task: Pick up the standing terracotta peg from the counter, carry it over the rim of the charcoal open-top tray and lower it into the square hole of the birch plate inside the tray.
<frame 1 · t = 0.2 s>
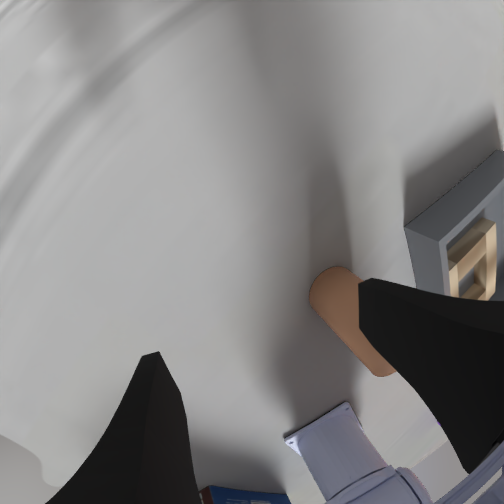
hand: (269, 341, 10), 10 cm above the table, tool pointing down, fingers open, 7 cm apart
protein box: (229, 503, 32), on the table
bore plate: (455, 276, 27), resting on tray
tray: (469, 254, 27), on the table
peg: (332, 291, 22), on the table
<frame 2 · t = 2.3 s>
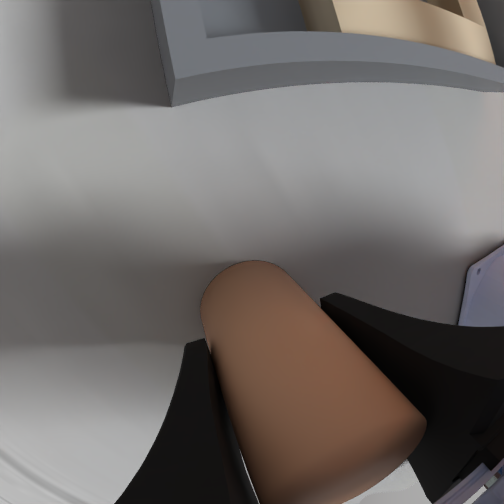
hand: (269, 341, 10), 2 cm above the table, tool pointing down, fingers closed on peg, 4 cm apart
peg: (250, 307, 12), on the table, touching gripper
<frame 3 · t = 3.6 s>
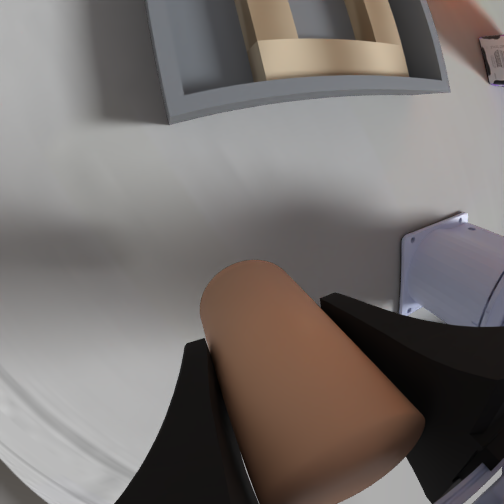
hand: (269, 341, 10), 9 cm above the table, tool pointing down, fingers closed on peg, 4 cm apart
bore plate: (308, 16, 15), resting on tray
peg: (249, 306, 12), point 7 cm above the table, touching gripper
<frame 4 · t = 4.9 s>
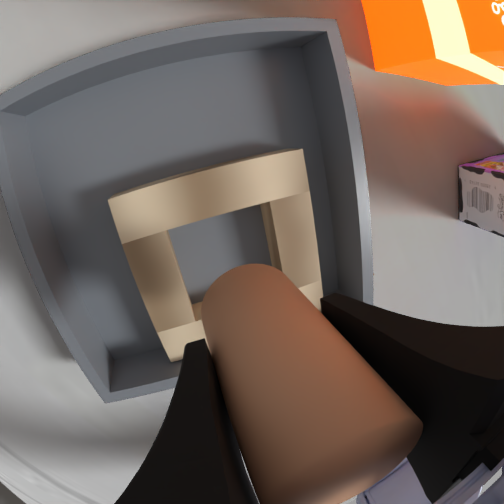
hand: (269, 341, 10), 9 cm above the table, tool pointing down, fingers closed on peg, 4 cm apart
candy box: (487, 181, 24), on the table
orange juice: (406, 37, 17), on the table
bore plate: (220, 247, 18), resting on tray
tray: (192, 205, 17), on the table
peg: (250, 309, 12), point 7 cm above the table, touching gripper
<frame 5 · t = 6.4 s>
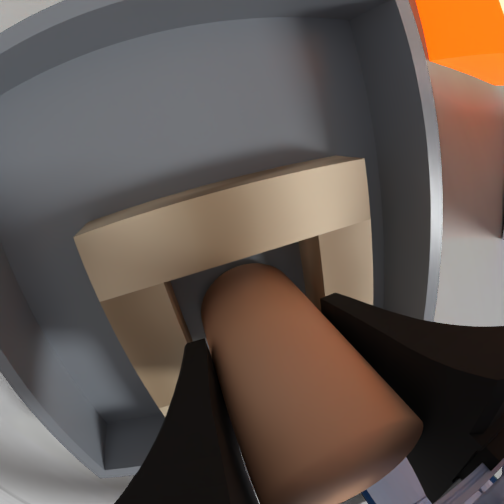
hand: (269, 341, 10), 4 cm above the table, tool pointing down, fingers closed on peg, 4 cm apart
orange juice: (455, 26, 12), on the table
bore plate: (241, 291, 13), resting on tray
tray: (201, 234, 12), on the table
peg: (250, 309, 12), point 1 cm above the table, touching gripper
when the fingers open (4 cm above the table, at t = 7.4 s): peg stays where it is, resting on tray.
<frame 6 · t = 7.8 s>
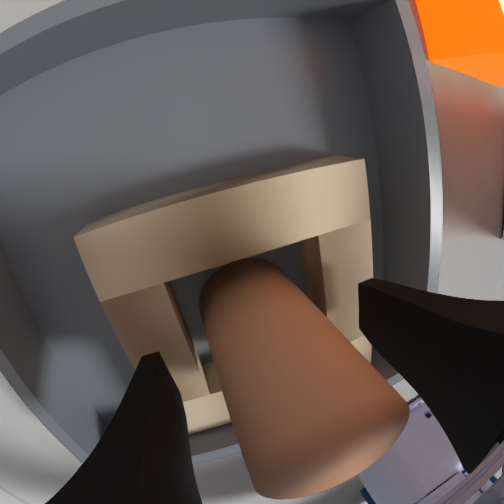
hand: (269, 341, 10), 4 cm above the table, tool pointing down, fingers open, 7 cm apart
orange juice: (455, 26, 12), on the table
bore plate: (241, 291, 13), resting on tray
tray: (201, 234, 12), on the table
peg: (246, 302, 13), point 1 cm above the table, touching tray
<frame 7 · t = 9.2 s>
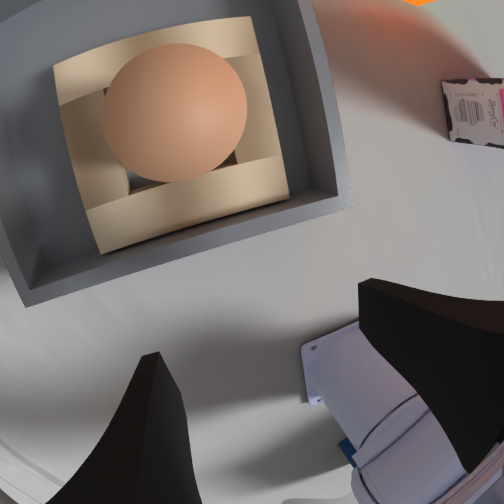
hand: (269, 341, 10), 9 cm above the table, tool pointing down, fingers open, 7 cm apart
candy box: (478, 110, 21), on the table
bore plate: (168, 128, 15), resting on tray
tray: (140, 84, 14), on the table
peg: (169, 129, 14), point 1 cm above the table, touching tray
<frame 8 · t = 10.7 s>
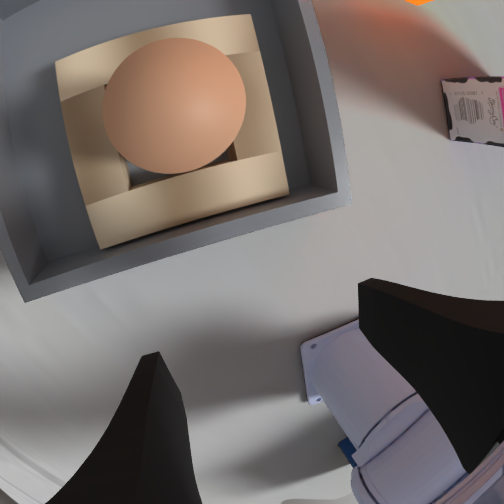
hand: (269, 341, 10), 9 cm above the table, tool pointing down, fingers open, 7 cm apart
candy box: (478, 109, 21), on the table
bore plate: (169, 125, 15), resting on tray
tray: (141, 81, 14), on the table
peg: (170, 126, 14), point 1 cm above the table, touching tray
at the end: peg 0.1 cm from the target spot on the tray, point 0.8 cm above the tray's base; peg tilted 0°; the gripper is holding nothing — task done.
